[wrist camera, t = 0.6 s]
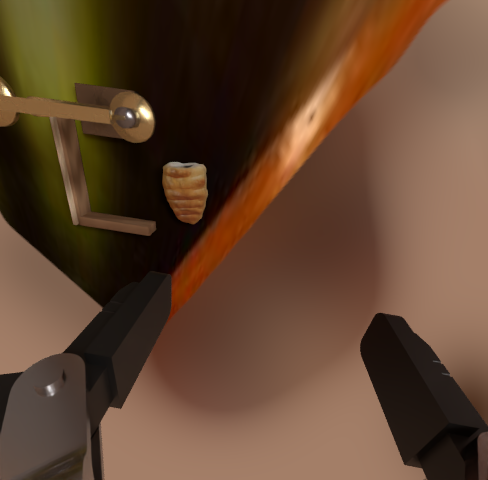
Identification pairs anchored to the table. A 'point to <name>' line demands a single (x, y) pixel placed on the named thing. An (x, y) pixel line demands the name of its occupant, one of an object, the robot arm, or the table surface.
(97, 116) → the balance
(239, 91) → the table surface
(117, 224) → the rail
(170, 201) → the pastry
